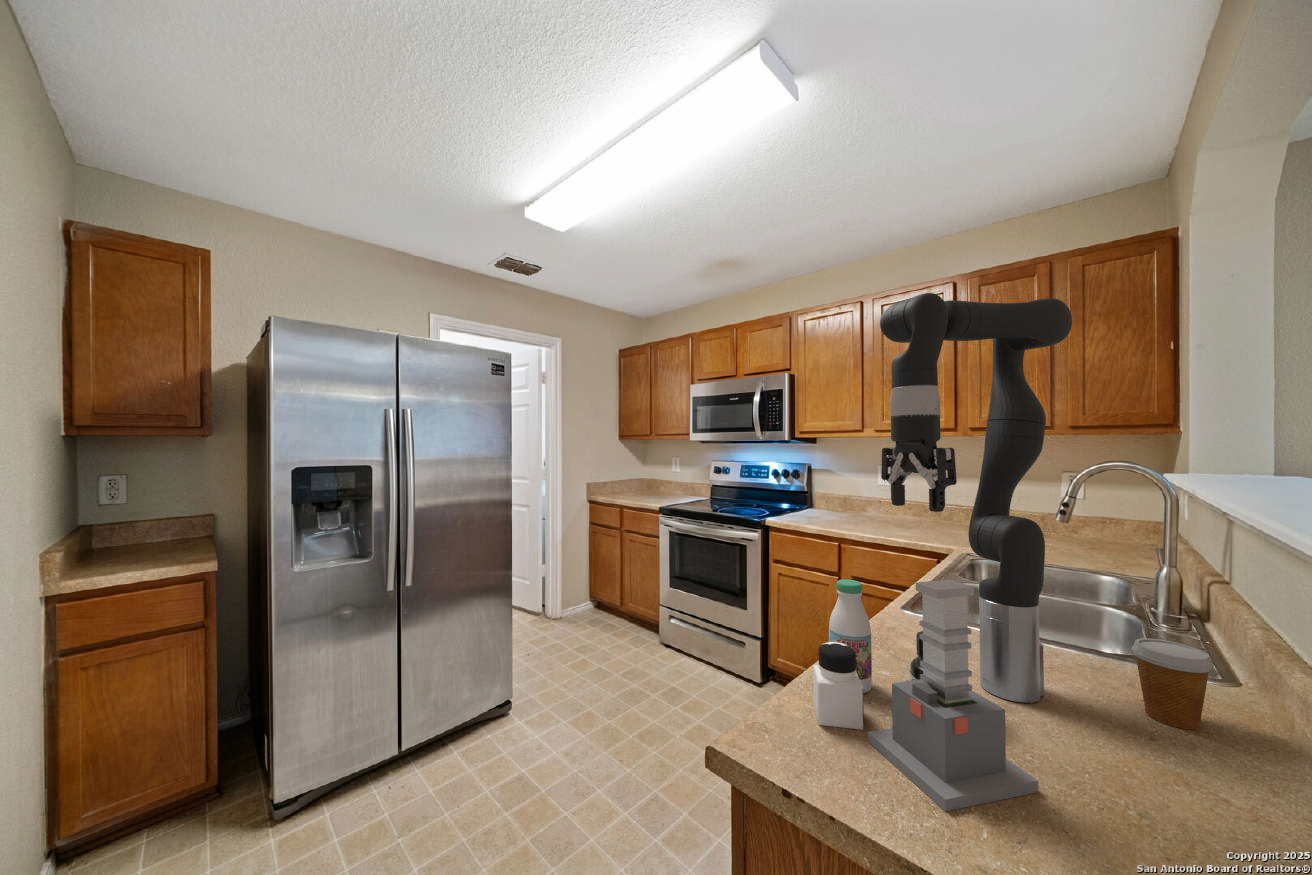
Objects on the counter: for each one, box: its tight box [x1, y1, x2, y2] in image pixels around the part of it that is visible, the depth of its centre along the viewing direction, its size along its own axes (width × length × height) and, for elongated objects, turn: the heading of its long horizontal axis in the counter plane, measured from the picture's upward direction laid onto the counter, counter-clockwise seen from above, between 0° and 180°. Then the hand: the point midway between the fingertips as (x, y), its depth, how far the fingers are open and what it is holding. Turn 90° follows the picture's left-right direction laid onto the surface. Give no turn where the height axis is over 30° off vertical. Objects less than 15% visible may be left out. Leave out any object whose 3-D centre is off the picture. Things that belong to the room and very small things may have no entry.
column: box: [915, 579, 975, 708], centre depth 71 cm, size 6×5×18 cm
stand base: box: [867, 679, 1039, 812], centre depth 71 cm, size 15×15×12 cm
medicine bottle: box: [812, 641, 865, 731], centre depth 83 cm, size 7×7×12 cm
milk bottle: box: [828, 578, 873, 694], centre depth 94 cm, size 8×8×20 cm
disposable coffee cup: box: [1131, 637, 1214, 730], centre depth 82 cm, size 10×10×12 cm
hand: (916, 508), depth 83 cm, fingers open, 8 cm apart
